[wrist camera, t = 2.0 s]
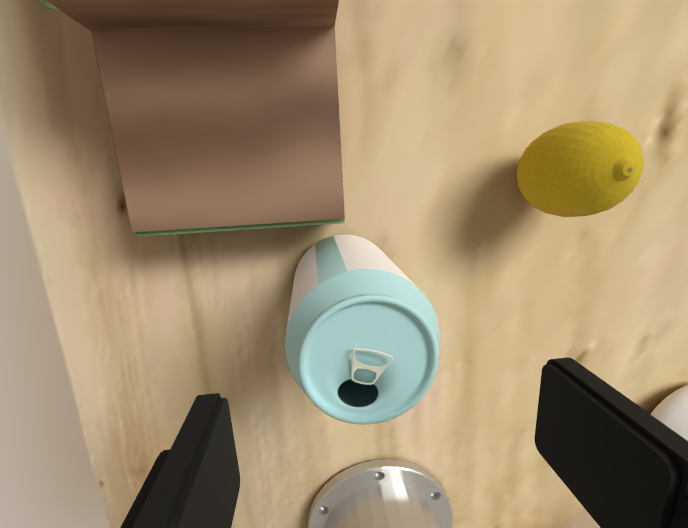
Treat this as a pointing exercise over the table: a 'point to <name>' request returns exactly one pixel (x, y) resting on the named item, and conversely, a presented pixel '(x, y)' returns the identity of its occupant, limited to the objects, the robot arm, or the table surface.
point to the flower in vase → (674, 411)
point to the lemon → (580, 169)
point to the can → (359, 332)
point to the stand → (220, 110)
